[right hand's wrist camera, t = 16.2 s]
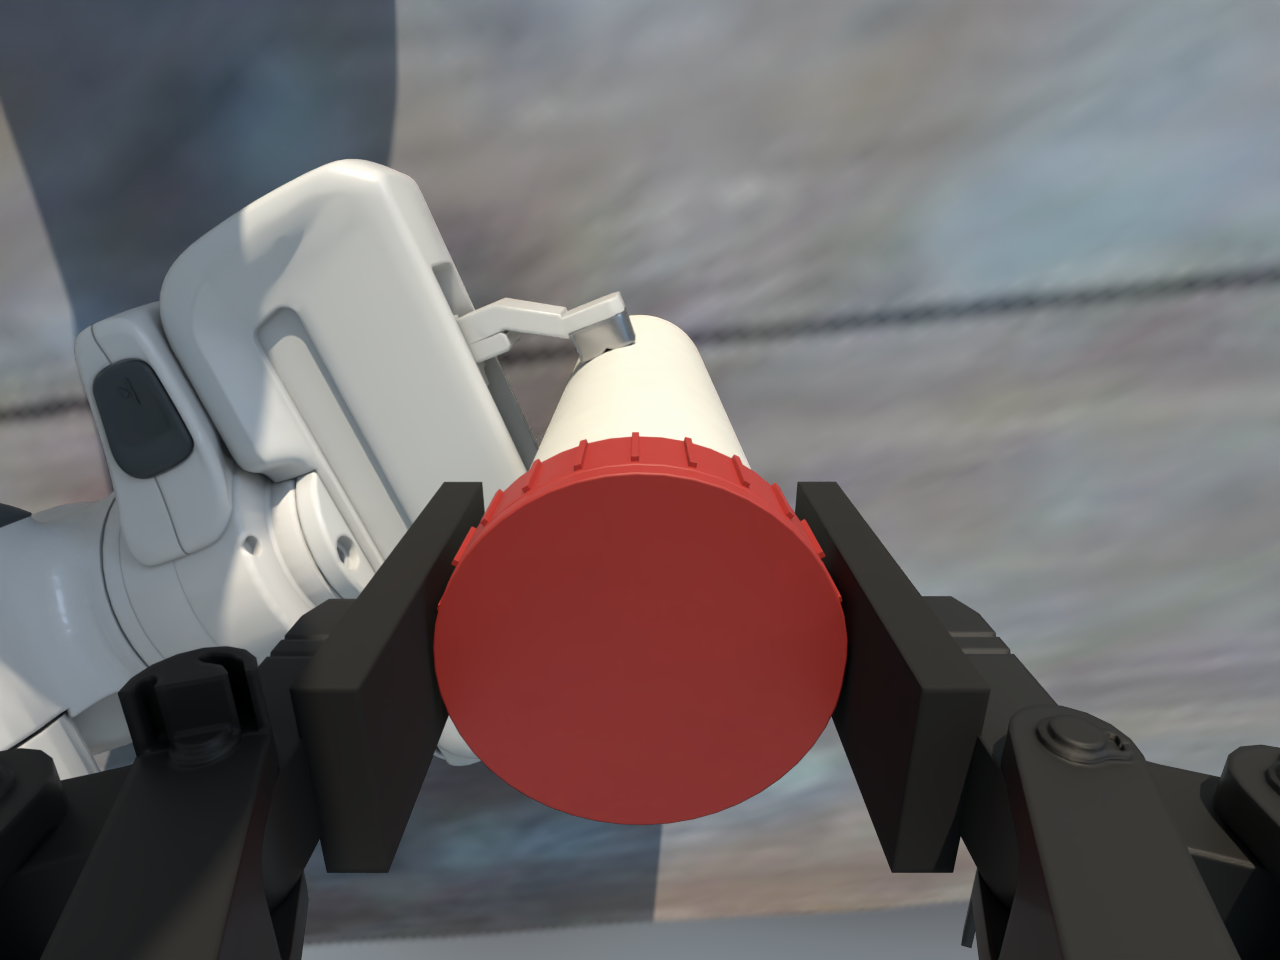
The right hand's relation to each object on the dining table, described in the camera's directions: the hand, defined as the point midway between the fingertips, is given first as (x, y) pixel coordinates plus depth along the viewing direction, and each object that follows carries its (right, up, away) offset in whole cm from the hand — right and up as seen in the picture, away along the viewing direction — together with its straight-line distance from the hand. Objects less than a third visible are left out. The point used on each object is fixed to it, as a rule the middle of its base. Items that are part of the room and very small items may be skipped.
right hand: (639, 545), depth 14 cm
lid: (0, -1, -4) cm, 4 cm away
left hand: (+1, +4, +8) cm, 9 cm away
